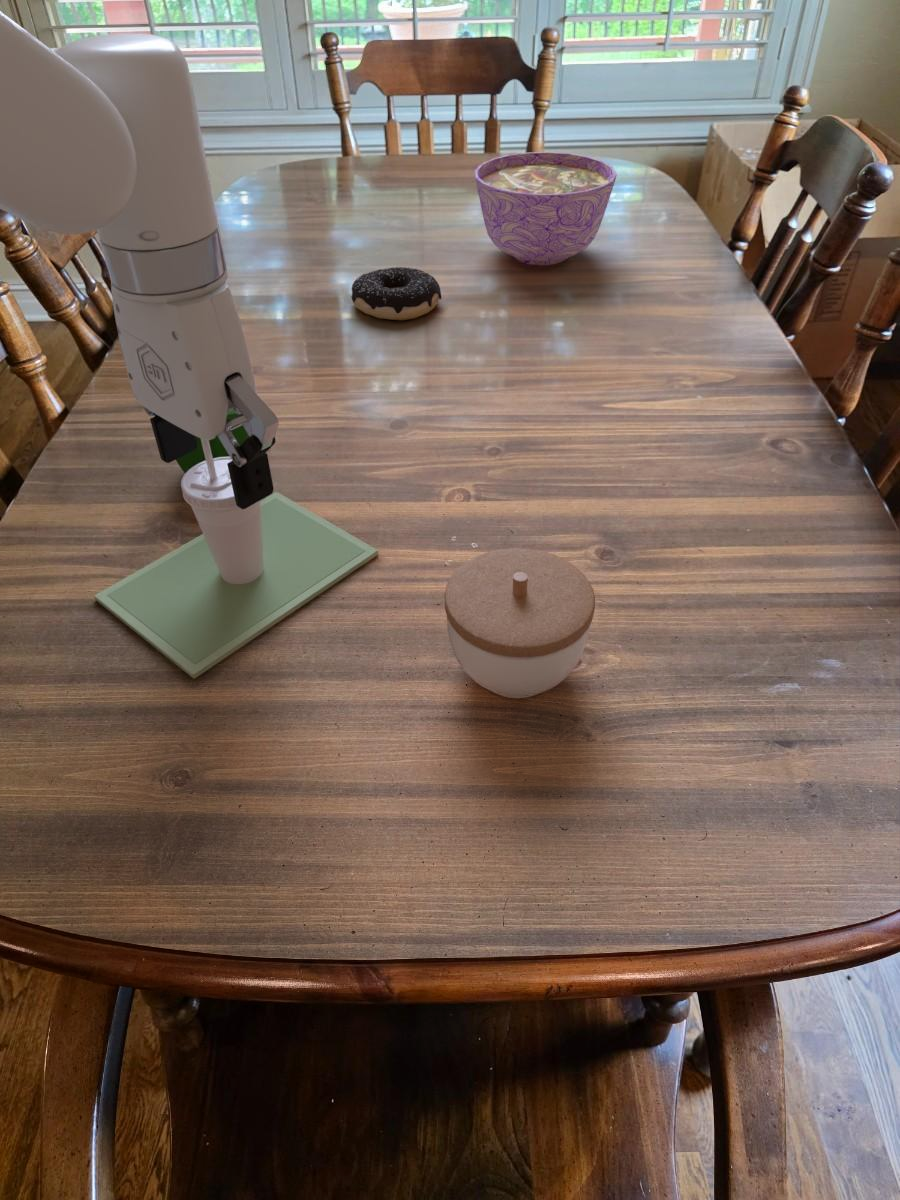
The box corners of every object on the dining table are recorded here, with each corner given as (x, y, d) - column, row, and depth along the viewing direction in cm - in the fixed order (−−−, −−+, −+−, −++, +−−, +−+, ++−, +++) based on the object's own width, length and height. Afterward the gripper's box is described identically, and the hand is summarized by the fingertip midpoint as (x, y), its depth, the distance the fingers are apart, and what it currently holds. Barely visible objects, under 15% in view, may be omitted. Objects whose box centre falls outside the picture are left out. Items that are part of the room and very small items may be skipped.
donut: (419, 329, 111) (418, 299, 109) (337, 316, 115) (334, 286, 112) (451, 296, 119) (450, 267, 116) (373, 284, 122) (371, 256, 120)
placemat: (194, 679, 67) (192, 674, 66) (95, 600, 74) (93, 595, 73) (378, 554, 78) (378, 549, 77) (277, 495, 85) (276, 491, 84)
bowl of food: (532, 222, 140) (536, 143, 132) (635, 252, 130) (645, 169, 122) (446, 257, 130) (444, 174, 122) (550, 293, 119) (555, 205, 111)
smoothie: (198, 558, 77) (160, 419, 67) (269, 540, 78) (241, 401, 69) (213, 603, 72) (175, 460, 63) (288, 582, 74) (261, 440, 65)
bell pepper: (236, 499, 84) (215, 408, 77) (161, 486, 86) (135, 396, 79) (273, 454, 90) (257, 365, 83) (203, 443, 92) (181, 355, 85)
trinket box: (614, 683, 66) (630, 590, 59) (499, 745, 61) (502, 652, 55) (529, 603, 72) (535, 512, 66) (420, 655, 68) (415, 563, 62)
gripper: (46, 244, 59) (114, 458, 71) (198, 313, 51) (248, 543, 62) (140, 215, 63) (190, 421, 75) (295, 274, 55) (325, 497, 66)
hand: (216, 476), depth 69 cm, fingers open, 9 cm apart
